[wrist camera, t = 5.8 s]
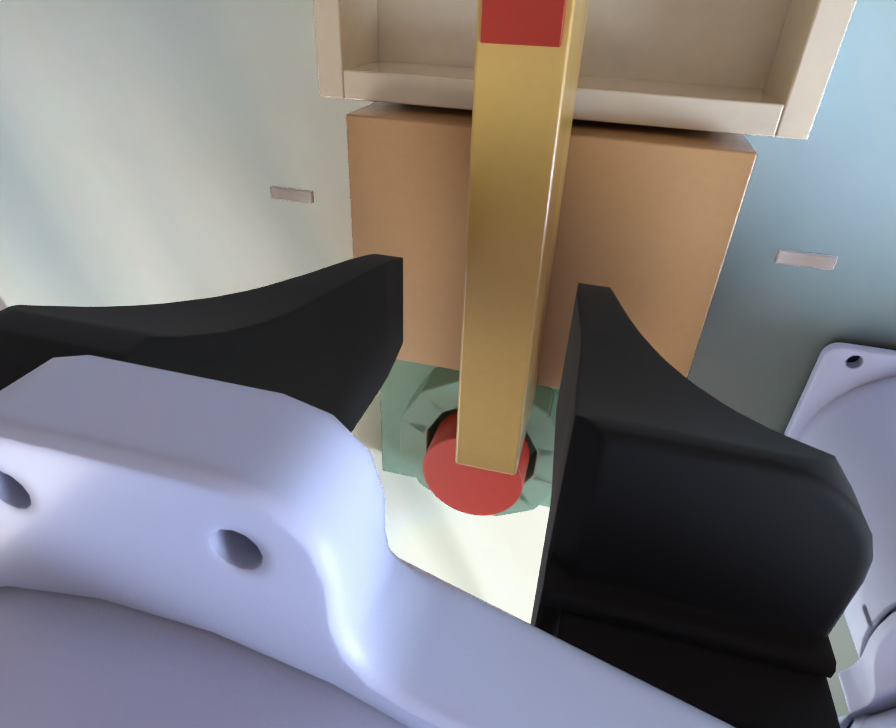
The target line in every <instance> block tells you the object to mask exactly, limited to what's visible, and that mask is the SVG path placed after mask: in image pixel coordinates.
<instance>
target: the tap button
mask: <svg viewBox="0 0 896 728" xmlns="http://www.w3.org/2000/svg"><path fill="white" fill-rule="evenodd" d="M457 413H458V411H456V412H454V413H452V414H450V415H449V416H447V417H446V418H445V419H444V420H443V421H442V422H441V423H440V424H439V426H438V428H437V430H436V433H435V435H434V437H433V439H432V441H431V444H430V446H429V448H428V450H427V452H426V455H425V457H424V460H423V474H424V478H425V481H426V483H427V485H428V487H429V488H430V490H431V491H432V492H433V493H434V494H435V496H436V497H438V498H439V499H440V500H441V501H442V502H444V503H445V504H447V505H448V506H450V507H452V508H454V509H456V510H458V511H461V512H464V513H468V514H473V515H493V514H498V513H501V512H503V511H505V510H507V509H509V508H510V507H512V506H513V505H514V504H515V503H516V502H517V500H518V499H519V498H520V495H521V493H522V489H523V485H524V481H525V476H526V472H527V467H528V463H529V458H530V449H529V445H528V442H527V439H526V437H525V439H524V443H523V447H522V451H521V455H520V459H519V464H518V468H517V472H516V474H515V475H510V474H505V473H501V472H496V471H491V470H486V469H481V468H476V467H471V466H467V465H462V464H457V463H456V462H455V453H456V433H457Z"/></svg>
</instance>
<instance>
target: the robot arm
mask: <svg viewBox="0 0 896 728" xmlns="http://www.w3.org/2000/svg"><path fill="white" fill-rule="evenodd" d="M402 344H403V258H402V257H395V256H388V255H381V254H370V255H365V256H361V257H357V258H354V259H351V260H347V261H344V262H341V263H338V264H335V265H332V266H329V267H326V268H323V269H320V270H317V271H314V272H311V273H308V274H305V275H302V276H299V277H295V278H292V279H289V280H285V281H282V282H278V283H275V284H272V285H268V286H265V287H261V288H257V289H253V290H248V291H244V292H239V293H234V294H229V295H224V296H218V297H212V298H205V299H197V300H189V301H181V302H173V303H165V304H153V305H137V306H113V307H69V306H31V305H15V306H10V307H8V308H6V309H4V310H2V311H0V728H896V351H895V350H888V349H882V348H875V347H868V346H862V345H855V344H848V343H832V344H829V345H828V346H826V347H825V348H824V349H823V350H822V351H821V353H820V355H819V357H818V360H817V362H816V364H815V366H814V368H813V371H812V373H811V375H810V377H809V379H808V382H807V384H806V386H805V388H804V391H803V393H802V395H801V397H800V399H799V402H798V404H797V406H796V408H795V410H794V413H793V415H792V417H791V419H790V422H789V424H788V426H787V428H786V430H785V433H784V435H783V434H781V433H778V432H776V431H774V430H772V429H770V428H768V427H766V426H764V425H762V424H760V423H758V422H756V421H754V420H752V419H750V418H748V417H746V416H744V415H742V414H740V413H739V412H737V411H735V410H734V409H732V408H730V407H728V406H727V405H725V404H723V403H722V402H720V401H719V400H717V399H716V398H714V397H713V396H711V395H710V394H708V393H707V392H705V391H704V390H702V389H701V388H699V387H698V386H696V385H695V384H694V383H692V382H691V381H690V380H688V379H687V378H686V377H684V376H683V375H682V374H681V373H680V372H679V371H677V370H676V369H675V368H674V367H673V366H672V365H670V364H669V363H668V362H667V361H666V360H665V359H664V358H663V357H662V356H661V355H660V354H659V353H658V352H657V351H656V350H655V349H654V348H653V347H652V346H651V345H650V343H649V342H648V341H647V340H646V339H645V338H644V337H643V336H642V334H641V333H640V332H639V331H638V329H637V328H636V326H635V325H634V324H633V322H632V321H631V320H630V318H629V317H628V315H627V313H626V312H625V310H624V309H623V307H622V306H621V304H620V302H619V301H618V299H617V297H616V295H615V294H614V292H613V291H612V289H611V288H610V287H604V286H597V285H590V284H583V283H578V287H577V292H576V298H575V303H574V309H573V315H572V321H571V326H570V332H569V338H568V344H567V349H566V355H565V361H564V366H563V372H562V378H561V384H560V389H559V395H558V401H557V407H556V421H555V438H554V457H553V475H552V493H551V502H550V512H549V518H548V524H547V530H546V536H545V542H544V548H543V554H542V560H541V566H540V571H539V577H538V583H537V589H536V595H535V601H534V607H533V613H532V619H531V624H529V623H527V622H525V621H523V620H521V619H519V618H517V617H515V616H513V615H511V614H509V613H507V612H505V611H503V610H501V609H499V608H497V607H495V606H493V605H491V604H489V603H487V602H485V601H483V600H481V599H479V598H477V597H475V596H473V595H471V594H469V593H467V592H465V591H463V590H461V589H459V588H457V587H455V586H453V585H451V584H449V583H447V582H445V581H443V580H441V579H439V578H437V577H435V576H433V575H431V574H429V573H427V572H425V571H423V570H421V569H419V568H417V567H415V566H413V565H411V564H409V563H408V562H406V561H404V560H402V559H400V558H398V557H397V556H396V555H395V554H394V553H393V552H392V551H391V550H390V549H389V546H388V541H387V536H386V531H385V498H384V490H383V487H382V484H381V481H380V478H379V475H378V472H377V470H376V467H375V464H374V461H373V458H372V455H371V452H370V451H369V450H368V449H367V448H366V447H365V446H364V445H363V444H362V443H361V442H360V441H359V440H358V439H357V438H356V437H355V436H354V435H353V434H352V433H351V432H352V431H353V429H354V428H355V426H356V425H357V423H358V422H359V420H360V419H361V417H362V416H363V414H364V413H365V411H366V410H367V408H368V407H369V405H370V404H371V402H372V401H373V399H374V398H375V396H376V395H377V393H378V391H379V390H380V388H381V387H382V385H383V384H384V382H385V381H386V379H387V377H388V376H389V373H390V371H391V369H392V367H393V365H394V363H395V361H396V358H397V356H398V354H399V351H400V349H401V347H402ZM851 356H860V358H859V359H858V360H857V361H855V362H852V363H848V362H846V360H847V359H848V358H849V357H851ZM843 612H844V615H845V618H846V621H847V624H848V627H849V630H850V633H851V636H852V639H853V642H854V645H855V648H856V650H857V653H858V656H859V660H858V661H857V662H856V663H855V664H853V665H852V666H851V667H849V668H847V669H844V670H842V671H841V672H839V673H838V676H839V679H840V682H841V686H842V689H843V692H844V696H845V699H846V702H847V705H848V709H849V712H850V714H847V715H844V716H841V717H837V713H836V710H835V706H834V703H833V699H832V696H831V692H830V689H829V685H828V682H827V678H826V677H828V678H831V677H832V676H833V674H834V673H835V671H836V660H835V657H834V654H833V650H832V647H831V644H830V641H829V637H828V635H829V633H830V632H831V630H832V629H833V627H834V626H835V624H836V623H837V621H838V620H839V618H840V617H841V615H842V614H843Z"/></svg>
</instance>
